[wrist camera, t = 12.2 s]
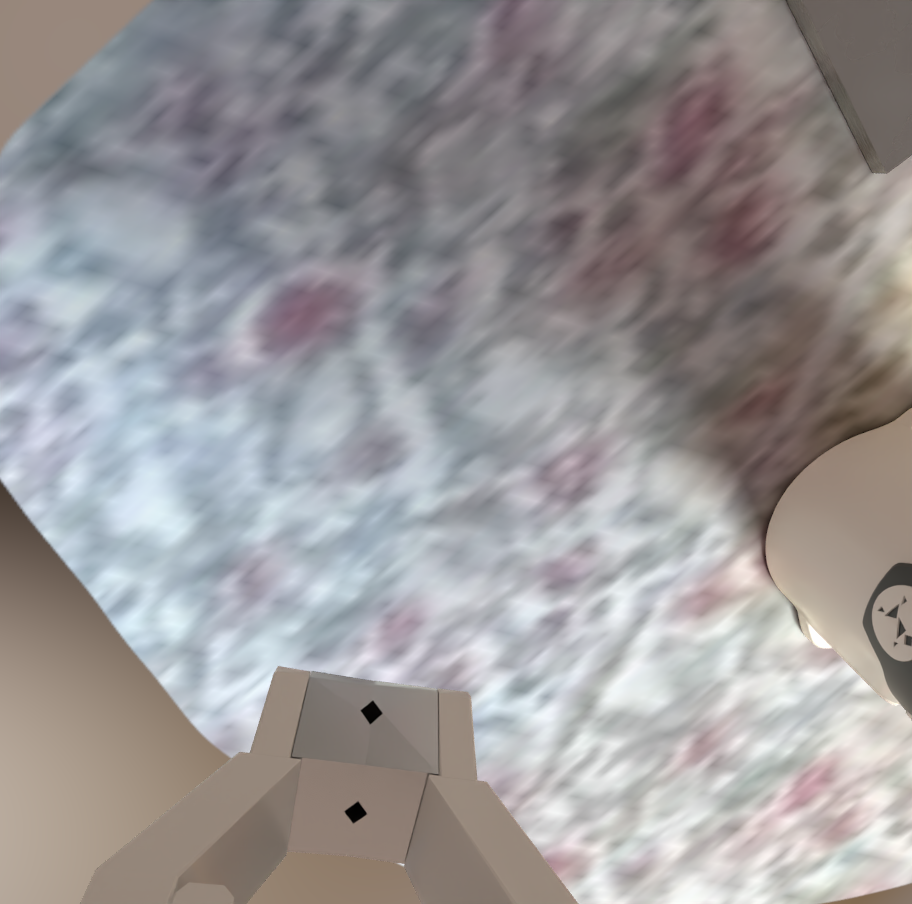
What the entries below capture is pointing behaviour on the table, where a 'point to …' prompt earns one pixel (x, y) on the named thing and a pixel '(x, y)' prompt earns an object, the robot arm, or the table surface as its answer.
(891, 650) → the robot arm
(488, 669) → the table surface
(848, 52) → the pintle base
